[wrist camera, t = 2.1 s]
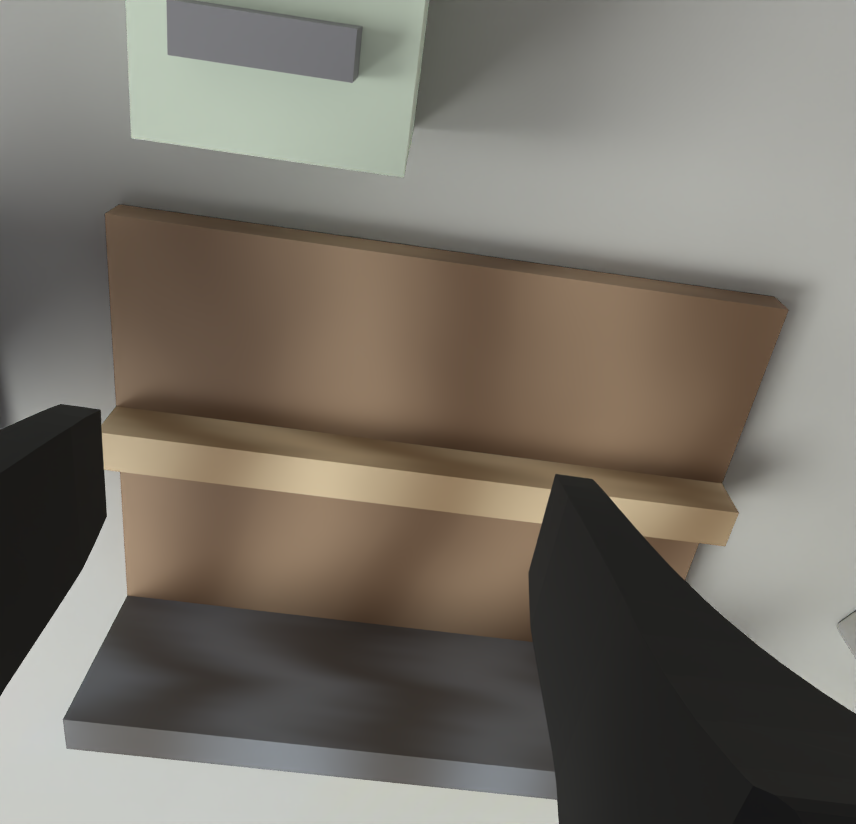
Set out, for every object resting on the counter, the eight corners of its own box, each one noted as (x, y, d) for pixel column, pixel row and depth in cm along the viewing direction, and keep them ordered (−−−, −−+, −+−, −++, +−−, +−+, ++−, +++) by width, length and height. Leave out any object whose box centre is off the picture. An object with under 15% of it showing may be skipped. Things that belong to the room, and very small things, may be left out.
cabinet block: (215, 98, 19) (109, 147, 13) (216, -91, 17) (94, -135, 11) (413, 127, 20) (401, 190, 14) (436, -55, 18) (434, -79, 12)
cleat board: (139, 602, 27) (66, 748, 22) (118, 204, 21) (8, 277, 15) (639, 659, 28) (685, 812, 23) (774, 296, 22) (882, 395, 16)
